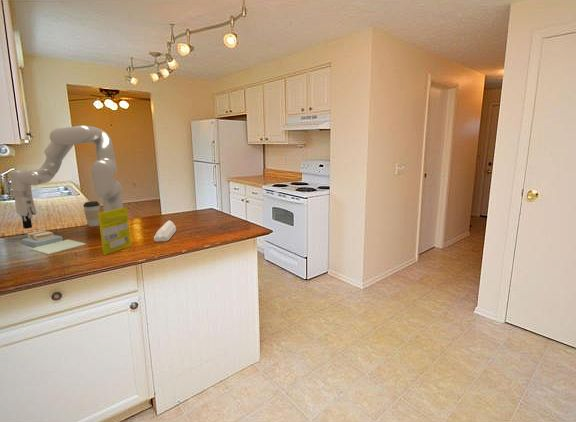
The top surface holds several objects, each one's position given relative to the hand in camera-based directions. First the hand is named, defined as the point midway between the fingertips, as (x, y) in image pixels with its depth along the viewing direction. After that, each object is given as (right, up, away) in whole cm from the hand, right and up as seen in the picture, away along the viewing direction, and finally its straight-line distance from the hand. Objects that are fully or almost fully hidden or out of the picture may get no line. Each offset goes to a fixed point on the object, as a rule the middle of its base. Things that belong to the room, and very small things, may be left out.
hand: (27, 227), depth 164 cm
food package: (+57, -10, -16) cm, 60 cm away
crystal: (+70, -5, +8) cm, 71 cm away
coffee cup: (+15, 0, +33) cm, 36 cm away
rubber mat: (+25, -9, -11) cm, 28 cm away
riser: (+11, -7, -4) cm, 14 cm away
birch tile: (+10, -5, -4) cm, 12 cm away
